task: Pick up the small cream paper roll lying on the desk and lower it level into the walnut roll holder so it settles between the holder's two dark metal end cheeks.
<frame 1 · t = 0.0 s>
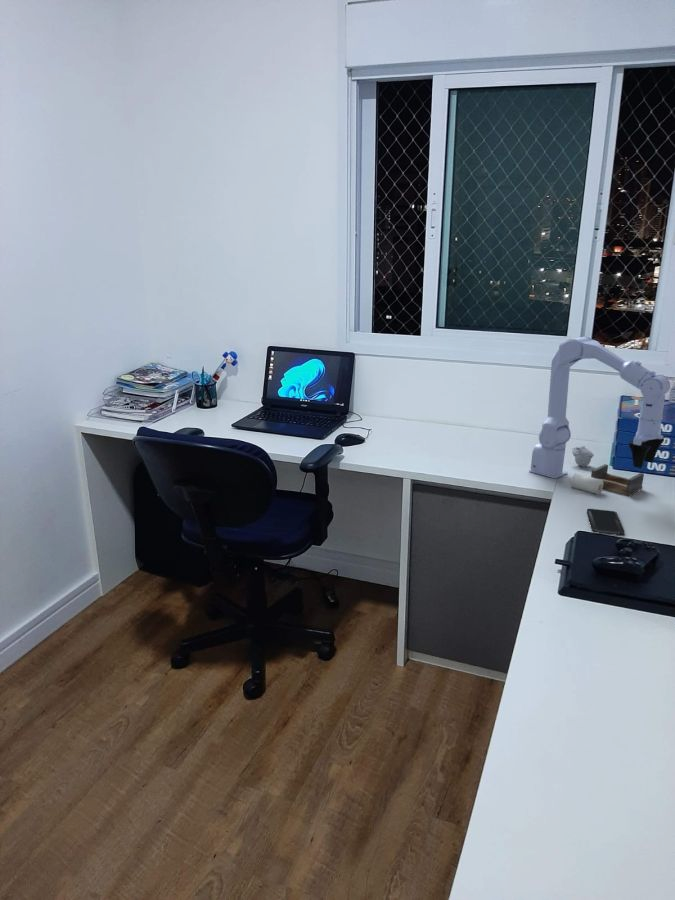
hand: (643, 464, 192), 10 cm above the table, tool pointing down, fingers open, 7 cm apart
phone: (604, 524, 176), on the table
paper roll: (586, 483, 199), point 2 cm above the table
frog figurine: (581, 466, 222), on the table
roll holder: (615, 487, 202), on the table
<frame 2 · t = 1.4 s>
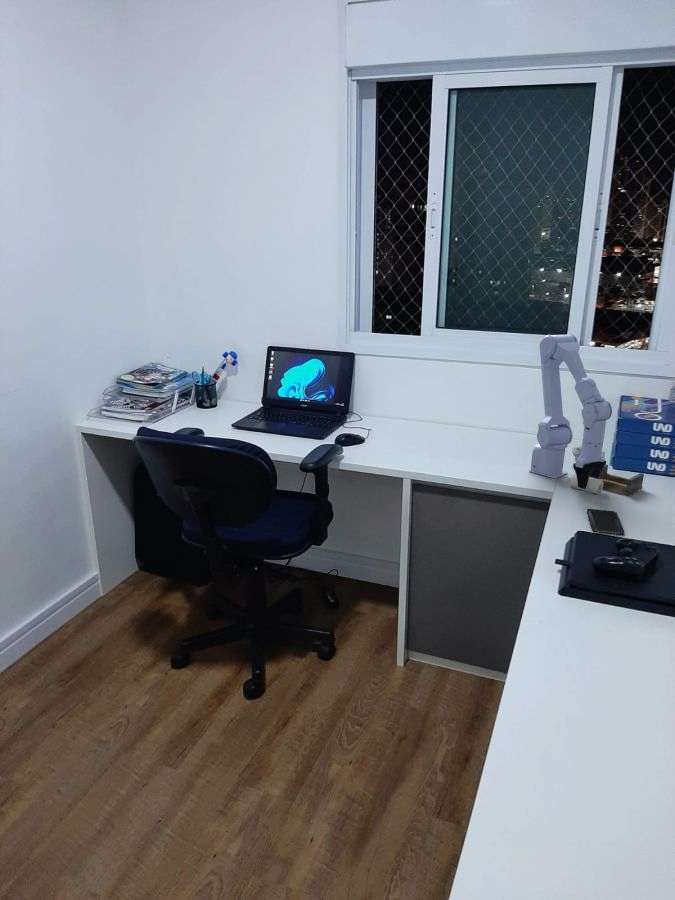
hand: (587, 485, 199), 2 cm above the table, tool pointing down, fingers open, 6 cm apart
nothing on the table moved.
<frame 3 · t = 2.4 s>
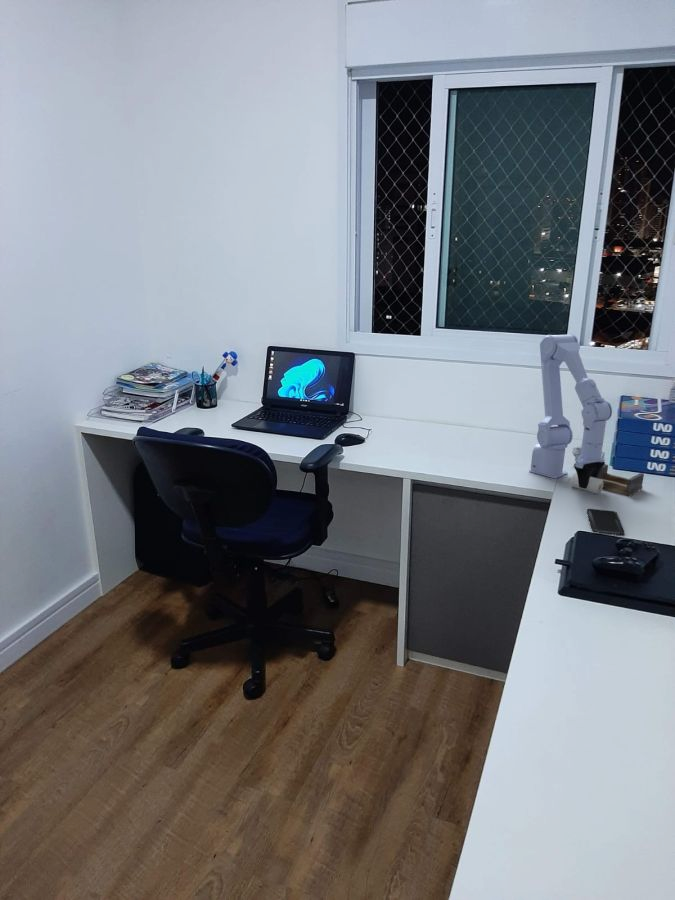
hand: (586, 485, 199), 1 cm above the table, tool pointing down, fingers closed on paper roll, 4 cm apart
paper roll: (586, 483, 199), point 2 cm above the table, touching gripper
everything else where it was.
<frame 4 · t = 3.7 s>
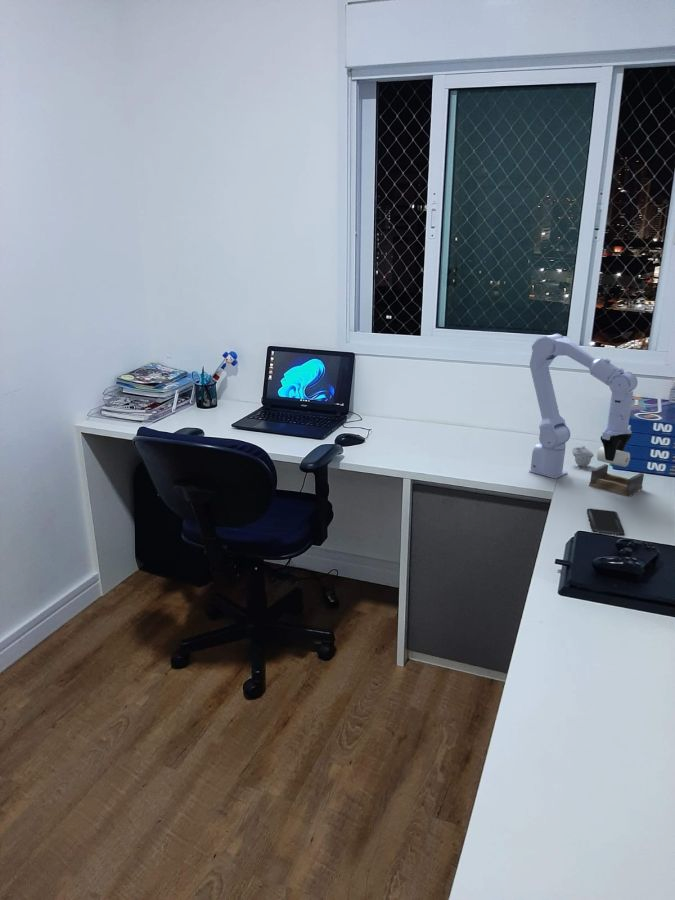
hand: (612, 458, 199), 9 cm above the table, tool pointing down, fingers closed on paper roll, 4 cm apart
paper roll: (613, 456, 199), point 10 cm above the table, touching gripper
everything else where it was.
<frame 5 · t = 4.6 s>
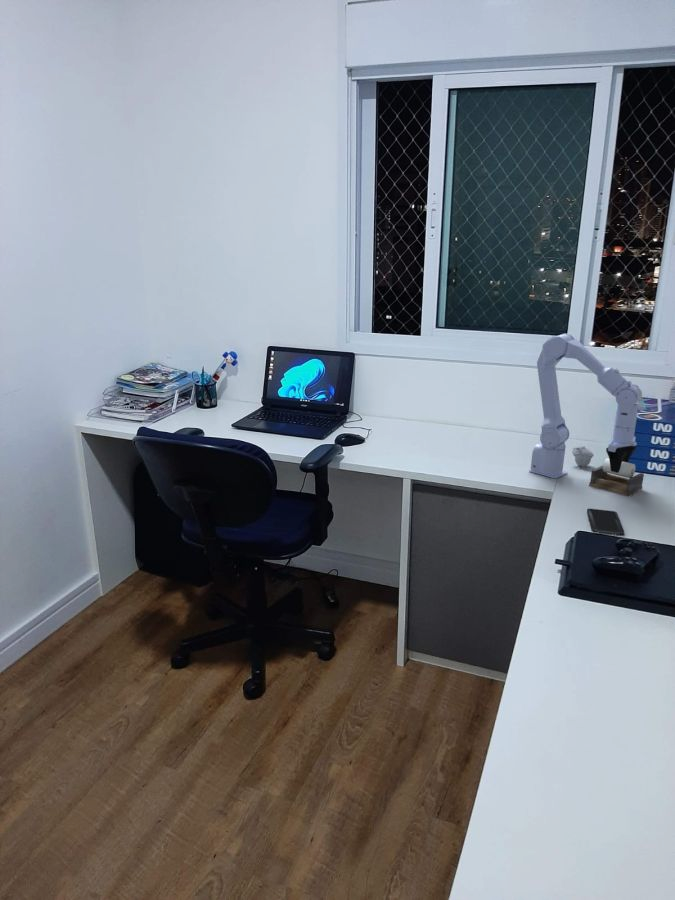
hand: (618, 469, 201), 6 cm above the table, tool pointing down, fingers closed on paper roll, 4 cm apart
paper roll: (618, 468, 200), point 6 cm above the table, touching gripper
everything else where it was.
when the fingers open (4 cm above the table, at t = 5.4 s): paper roll drops 1 cm, resting on roll holder.
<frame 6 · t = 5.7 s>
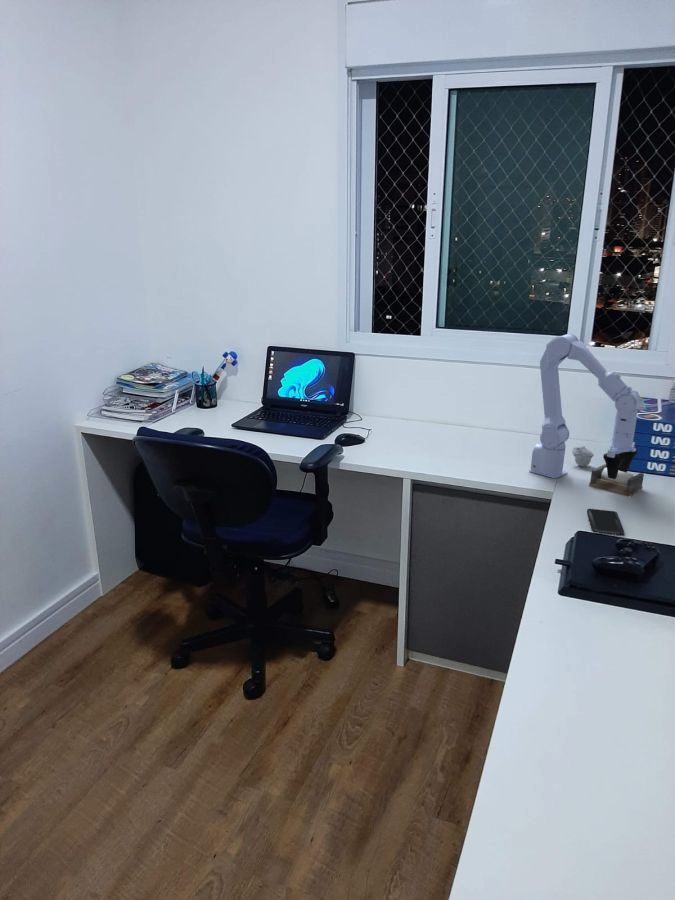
hand: (617, 475, 201), 4 cm above the table, tool pointing down, fingers open, 7 cm apart
paper roll: (617, 477, 201), point 3 cm above the table, touching roll holder
everything else where it was.
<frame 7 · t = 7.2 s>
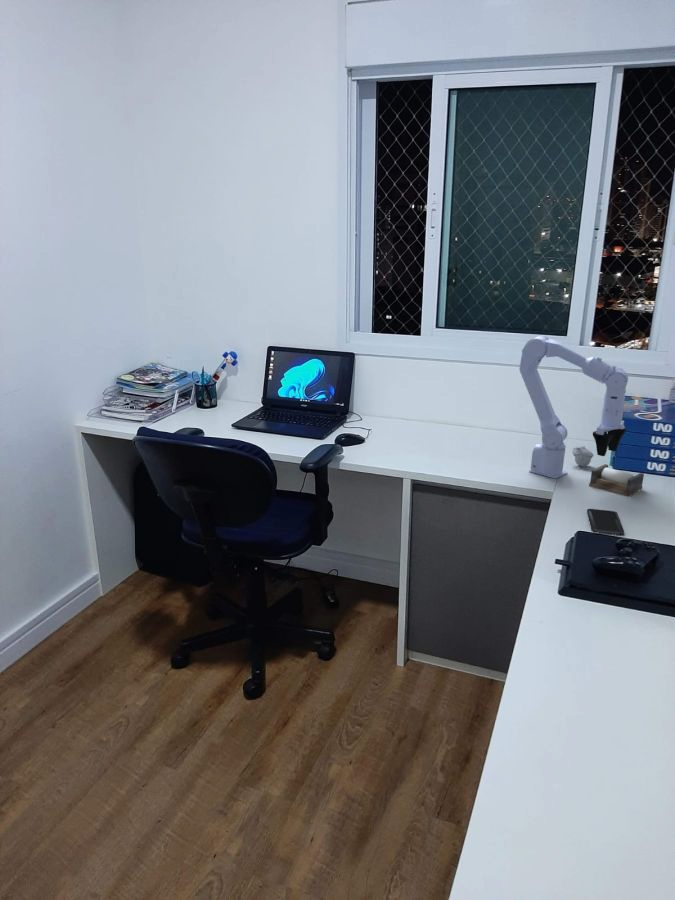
hand: (606, 453, 204), 9 cm above the table, tool pointing down, fingers open, 7 cm apart
nothing on the table moved.
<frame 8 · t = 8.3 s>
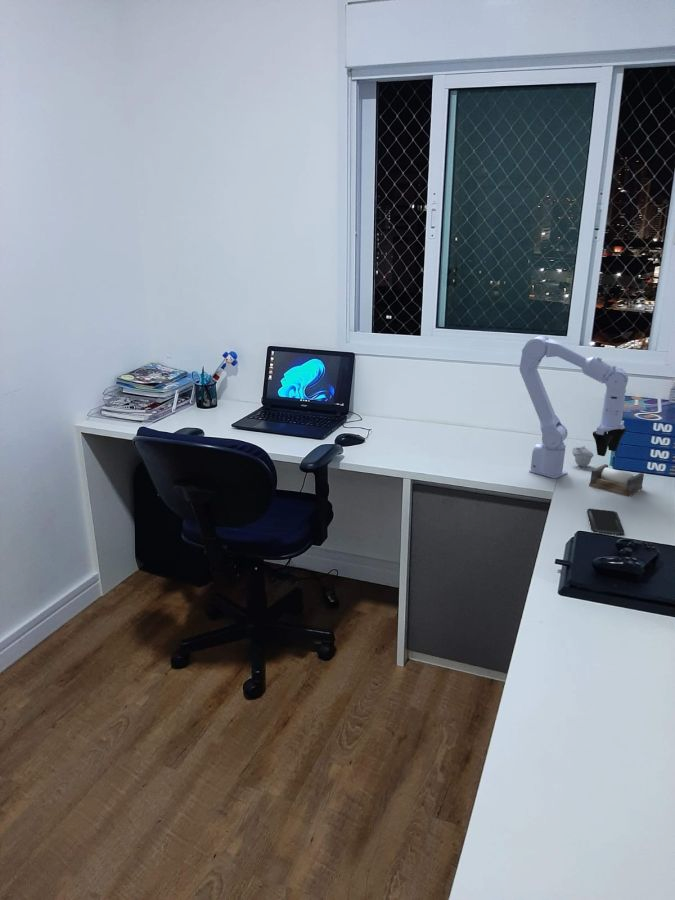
hand: (606, 453, 204), 9 cm above the table, tool pointing down, fingers open, 7 cm apart
nothing on the table moved.
at the end: paper roll 0.1 cm off-centre on the roll holder, point 3.2 cm above the roll holder's base; paper roll touching roll holder; the gripper is holding nothing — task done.
